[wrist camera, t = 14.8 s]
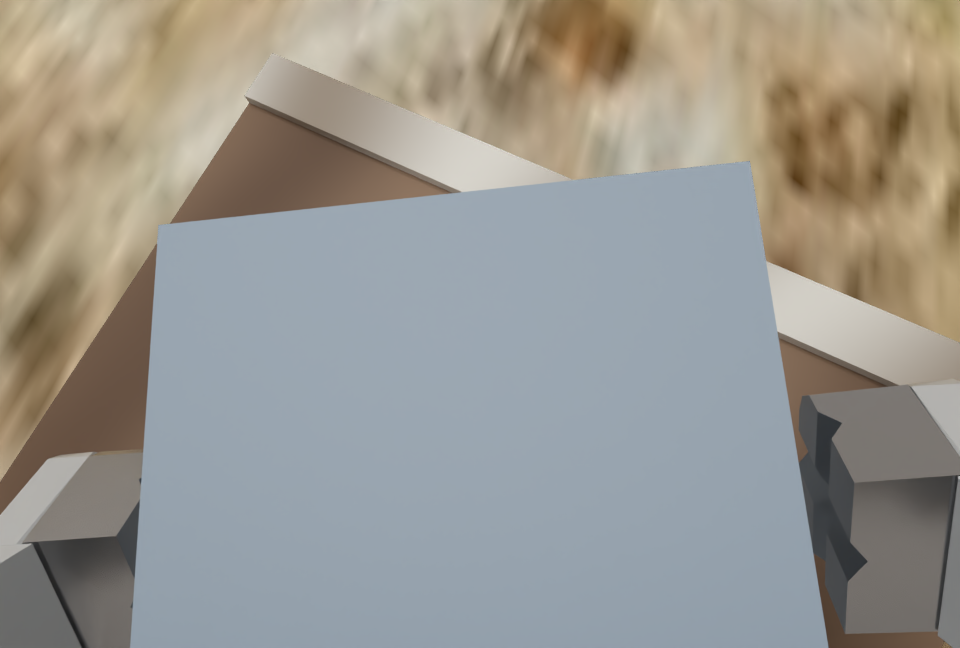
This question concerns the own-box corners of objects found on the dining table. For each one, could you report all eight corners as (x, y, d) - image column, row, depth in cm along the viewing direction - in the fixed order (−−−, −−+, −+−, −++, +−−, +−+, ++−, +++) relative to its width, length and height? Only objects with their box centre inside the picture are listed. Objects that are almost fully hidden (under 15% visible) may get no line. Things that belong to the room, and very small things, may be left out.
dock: (59, 616, 22) (-102, 619, 17) (342, 160, 25) (274, 49, 20) (688, 1049, 18) (717, 1225, 13) (948, 433, 20) (1056, 377, 15)
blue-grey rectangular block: (414, 714, 16) (112, 886, 6) (407, 433, 17) (158, 224, 8) (702, 703, 15) (865, 872, 6) (668, 414, 17) (749, 161, 7)
